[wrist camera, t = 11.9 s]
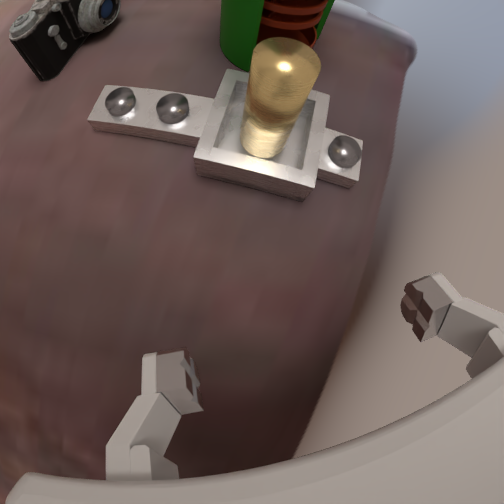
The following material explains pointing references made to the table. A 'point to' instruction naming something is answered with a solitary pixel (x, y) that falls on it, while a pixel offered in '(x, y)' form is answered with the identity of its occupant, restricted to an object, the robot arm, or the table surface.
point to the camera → (58, 31)
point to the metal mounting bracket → (234, 136)
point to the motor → (268, 24)
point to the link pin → (276, 93)
